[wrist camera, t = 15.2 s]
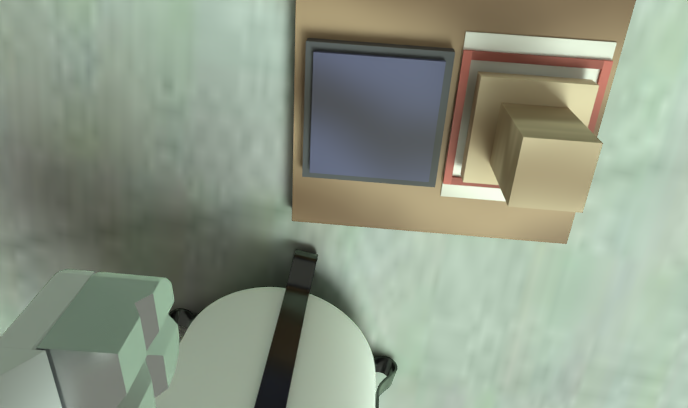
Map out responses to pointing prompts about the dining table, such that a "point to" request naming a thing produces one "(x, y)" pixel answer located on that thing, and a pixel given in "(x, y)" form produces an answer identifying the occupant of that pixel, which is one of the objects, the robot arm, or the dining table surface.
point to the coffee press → (274, 352)
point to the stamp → (533, 139)
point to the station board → (429, 105)
